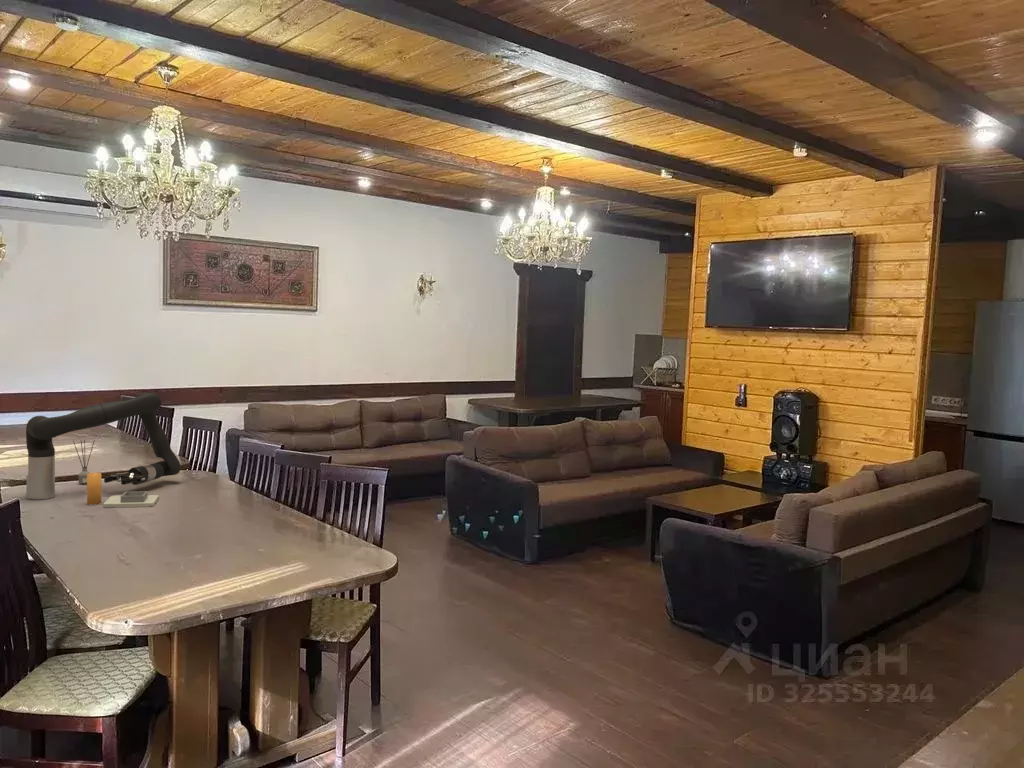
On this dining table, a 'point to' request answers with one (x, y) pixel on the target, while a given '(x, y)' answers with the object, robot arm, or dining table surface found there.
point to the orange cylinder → (93, 488)
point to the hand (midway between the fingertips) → (113, 481)
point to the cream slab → (132, 500)
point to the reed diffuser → (84, 472)
